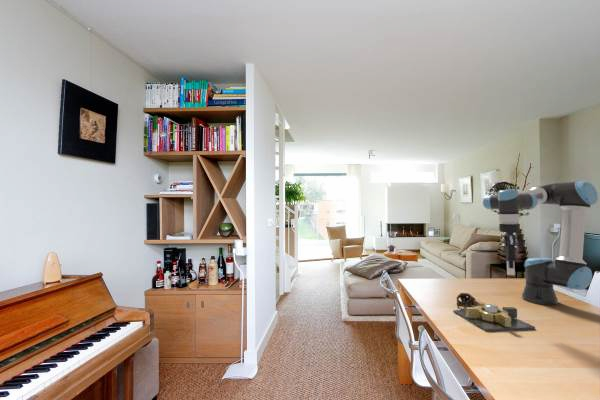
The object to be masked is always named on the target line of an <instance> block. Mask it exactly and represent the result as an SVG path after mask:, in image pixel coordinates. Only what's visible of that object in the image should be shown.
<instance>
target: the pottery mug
mask: <svg viewBox="0 0 600 400" xmlns="http://www.w3.org/2000/svg"><path fill="white" fill-rule="evenodd" d="M474 300H477V299H476V298H475V297H474V296H473V295H471V294H470V293H467V292H460V293H459V294H458V295H457V296H456V306H457V308H460V307H462V308H466V307H474Z"/></svg>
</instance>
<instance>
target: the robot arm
mask: <svg viewBox="0 0 600 400" xmlns="http://www.w3.org/2000/svg"><path fill="white" fill-rule="evenodd" d="M598 196H599V195H598V190H597V189H596V187H595V185H594V184H593V183H591V182H589V181H569V182H568V181H567V182H556V183H555V182H554V183H549V184H543V185H539V186H534V187H532V188H530V189H526V190H520V191H518V189H500V190H498V193H497V194H488V195H485V196H484V197H483V199H482V205H483V207H484V208H485V209H487V210H498V223H499V225H498V226H499V227H498V229H499V230H498V231H499V232H501V233H505V235H503V240H504V245H505V261H506V274H507V276H516V271H515V270H516V268H515V265H516V264H515V261H516V236H515V235H514V233H519V232H520V231H521V229H520V219H521V217H522V216H521V215H519V214H520V211H524V210H527V211H528V210H533V209H535V208H536V207H537V205H555V206H556V205H559V209H561V211H562V216H561V217H562V219H561V228H560V229H561V233H560V242H559V243H560V244H559V255H558V256H557V257H556V258H555V259H554V260H553V258H550V257H548V258H547V257H531V258H530V257H529V258H527V259H526V260H525V262H524V264H525V265H524V268H525V270H524V272H525V273H524V274H525V286H524V288H523V291H522V294H521V298H522V300H524V301H527V302H530V303H533V304H538V305H545V306H546V305H547V306H556V305H558V303H559V299H558V297H557V295H556V292H555V290H554V286H558V287H561V288H562V287H564V288H568V289H570V290H578V291H583V290H585V289H587V288H588V287H590V284H591V283H592V279H593V273H592V270H591V268H590V267H588V266H587V262H586V261H585V260H584V259H583V257H584V245H585V243H584V242H585V227H586V213H587V212H588V211H589V210H591V205H592V206H593V205H595V204H596V203H597V202H598Z"/></svg>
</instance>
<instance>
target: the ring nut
mask: <svg viewBox="0 0 600 400" xmlns="http://www.w3.org/2000/svg"><path fill="white" fill-rule="evenodd" d="M485 304H486V303H485V302H483V301H481V300H479V299H476V300H474V306H466V307H465V310H466V316H467V317H468V318H480V319H483V320H487V321H491V322H498V323H500V324H501V325H503V326H505V327H511V318H517V319H518V308H517V307H514V306H502V308H500V307H498V313H489V312H485Z"/></svg>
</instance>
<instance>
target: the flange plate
mask: <svg viewBox="0 0 600 400" xmlns="http://www.w3.org/2000/svg"><path fill="white" fill-rule="evenodd" d="M498 308H499V307H498V306H497V305H495V304H492V303H485V312H489V313H498ZM453 313H454V314H456V315H457V316H459V317H460V318H463V319H465V320H466V321H468V322H469V323H471V324H472V325H474V326H476V327H477V328H479V329H480V330H482V331H484V332H505V331H506V332H509V331H530V330H531V331H533V330H536V326H534V325H532V324H530V323H527V322H525V321H523V320H521V319H519V318H518V317H517V318H511V327H505V326H503V325H501V324H500V323H498V322H491V321H487V320H483V319H480V318H468V317H467V316H466V309H453Z"/></svg>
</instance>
